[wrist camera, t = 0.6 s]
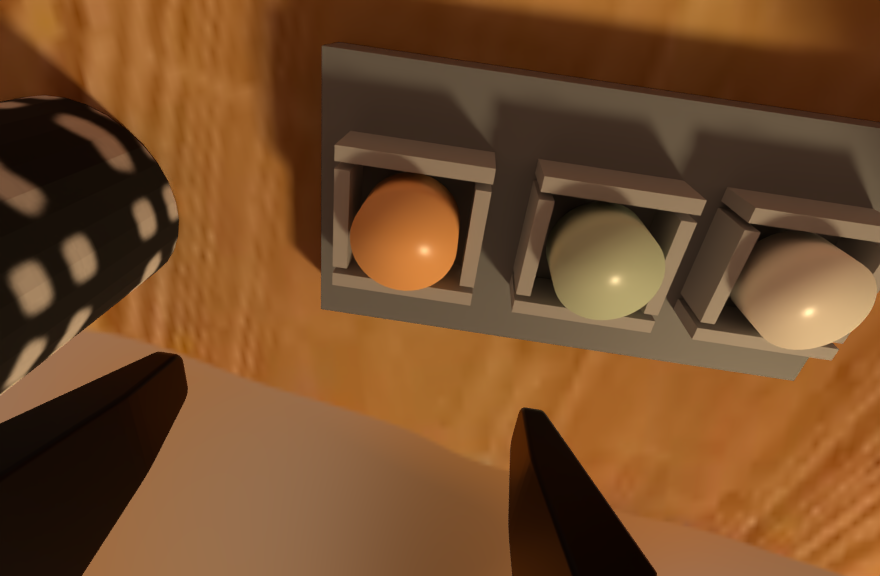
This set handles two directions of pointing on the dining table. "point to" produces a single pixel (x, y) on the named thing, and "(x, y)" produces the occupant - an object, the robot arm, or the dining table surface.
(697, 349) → the rack
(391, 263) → the orange button
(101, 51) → the dining table surface
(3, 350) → the spotted tube
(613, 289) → the sage button
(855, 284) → the cream button
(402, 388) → the dining table surface
